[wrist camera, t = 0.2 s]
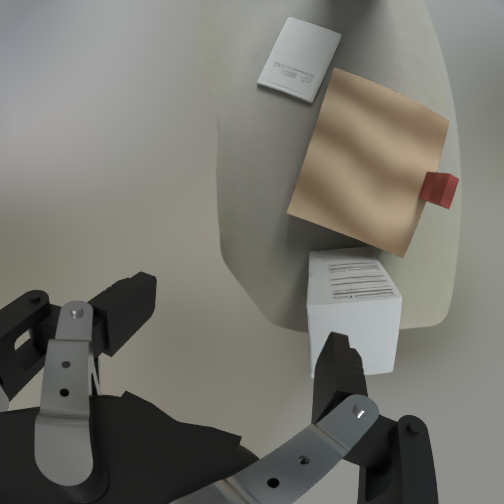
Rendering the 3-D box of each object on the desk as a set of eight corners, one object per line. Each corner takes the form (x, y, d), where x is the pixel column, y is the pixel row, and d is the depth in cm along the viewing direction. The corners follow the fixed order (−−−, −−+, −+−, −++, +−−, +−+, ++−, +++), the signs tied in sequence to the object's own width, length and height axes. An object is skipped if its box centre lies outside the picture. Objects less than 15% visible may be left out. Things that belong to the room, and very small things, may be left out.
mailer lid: (333, 69, 25) (338, 46, 19) (446, 121, 24) (474, 114, 18) (286, 211, 32) (281, 223, 25) (401, 256, 30) (420, 277, 24)
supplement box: (370, 303, 40) (394, 375, 24) (312, 308, 42) (309, 383, 26) (370, 244, 37) (405, 296, 22) (307, 249, 40) (304, 305, 24)
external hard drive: (341, 38, 29) (312, 105, 34) (289, 21, 30) (258, 85, 34) (342, 34, 28) (312, 102, 32) (288, 16, 28) (256, 82, 33)
